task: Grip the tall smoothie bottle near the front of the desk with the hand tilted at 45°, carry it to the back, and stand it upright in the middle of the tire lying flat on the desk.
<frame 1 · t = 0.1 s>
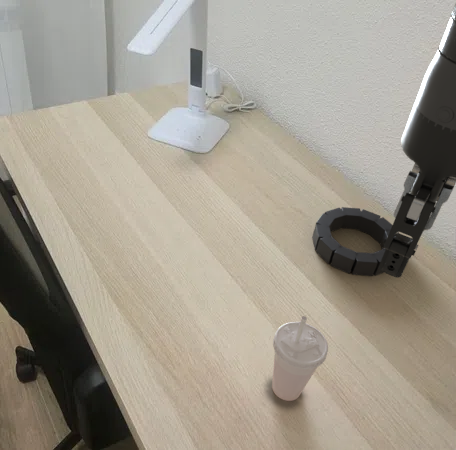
hand: (401, 248, 57), 24 cm above the table, tool pointing down, fingers open, 8 cm apart
tire: (353, 246, 93), on the table
smoothie: (286, 389, 72), on the table
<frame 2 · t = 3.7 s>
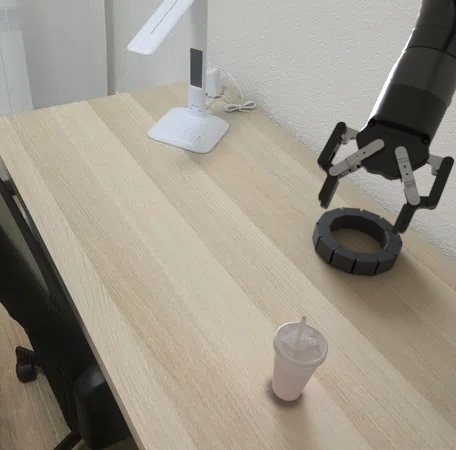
hand: (357, 221, 65), 21 cm above the table, tool tilted 45°, fingers open, 8 cm apart
nothing on the table moved.
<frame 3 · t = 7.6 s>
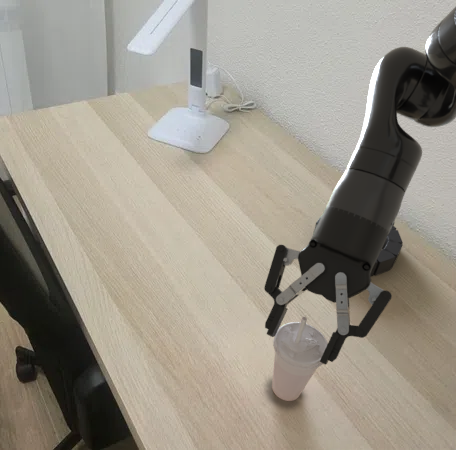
hand: (296, 348, 64), 10 cm above the table, tool tilted 45°, fingers closed on smoothie, 6 cm apart
smoothie: (286, 389, 72), on the table, touching gripper
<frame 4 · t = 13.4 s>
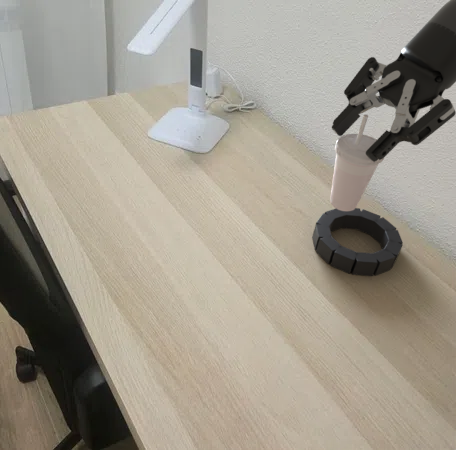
hand: (352, 144, 71), 24 cm above the table, tool tilted 45°, fingers closed on smoothie, 6 cm apart
smoothie: (342, 204, 79), point 14 cm above the table, touching gripper
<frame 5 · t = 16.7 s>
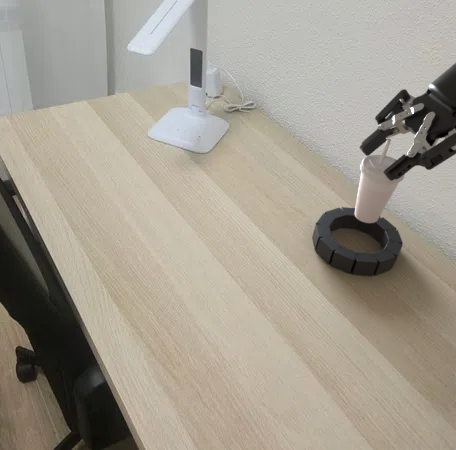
hand: (375, 163, 81), 17 cm above the table, tool tilted 45°, fingers closed on smoothie, 6 cm apart
smoothie: (365, 216, 89), point 7 cm above the table, touching gripper
when the fingers open (10 cm above the table, at t = 19.2 s): smoothie stays where it is, resting in tire.
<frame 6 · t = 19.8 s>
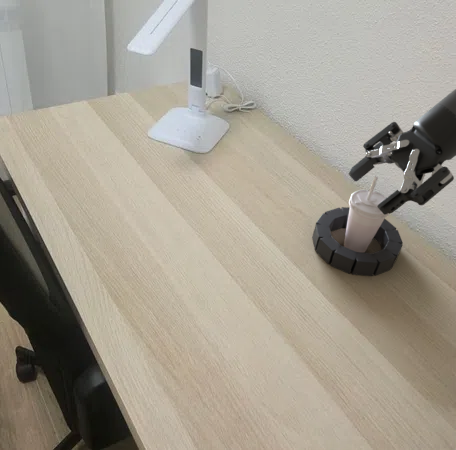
hand: (365, 193, 85), 11 cm above the table, tool tilted 45°, fingers open, 8 cm apart
smoothie: (354, 247, 93), resting in tire
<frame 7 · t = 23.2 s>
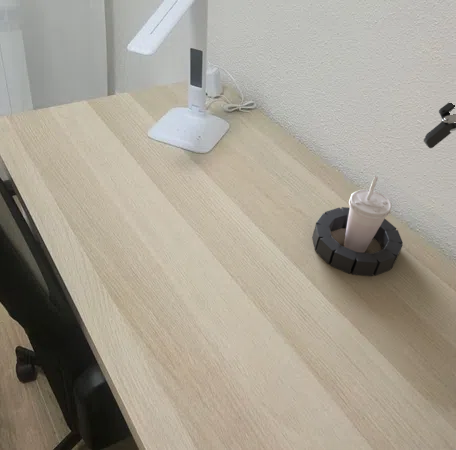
hand: (443, 159, 82), 17 cm above the table, tool tilted 45°, fingers open, 8 cm apart
nothing on the table moved.
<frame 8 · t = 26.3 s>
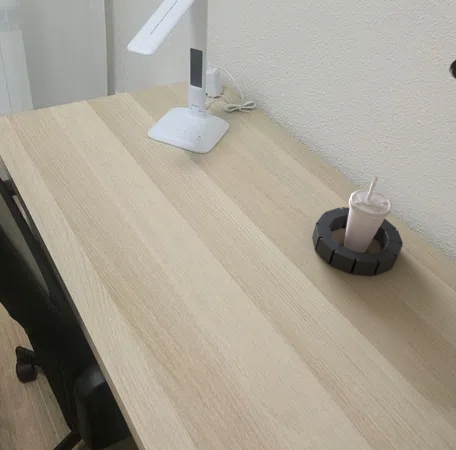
nothing on the table moved.
at the end: smoothie 0.1 cm off-centre on the tire, point 0.0 cm above the tire's base; smoothie tilted 0°; the gripper is holding nothing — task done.
